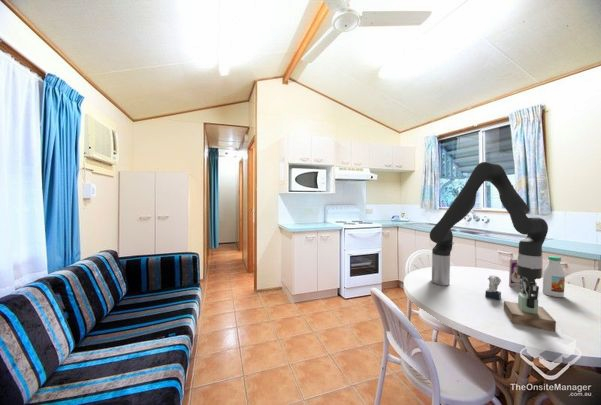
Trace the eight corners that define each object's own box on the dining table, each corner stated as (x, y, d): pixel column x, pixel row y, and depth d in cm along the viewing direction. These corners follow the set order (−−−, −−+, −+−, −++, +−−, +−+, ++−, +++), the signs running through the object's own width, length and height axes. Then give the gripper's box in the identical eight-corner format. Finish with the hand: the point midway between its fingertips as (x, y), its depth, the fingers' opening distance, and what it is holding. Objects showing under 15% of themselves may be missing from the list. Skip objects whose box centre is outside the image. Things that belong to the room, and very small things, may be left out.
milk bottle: (542, 294, 126) (544, 257, 125) (542, 290, 131) (543, 254, 130) (564, 299, 120) (566, 259, 120) (563, 294, 126) (564, 256, 125)
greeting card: (510, 286, 137) (511, 260, 136) (498, 281, 144) (498, 256, 143) (527, 285, 139) (528, 259, 138) (514, 280, 146) (515, 256, 145)
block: (521, 311, 101) (522, 297, 101) (517, 306, 105) (518, 292, 105) (537, 314, 99) (538, 299, 98) (533, 308, 103) (533, 295, 103)
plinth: (511, 322, 100) (512, 313, 99) (503, 309, 111) (503, 300, 111) (555, 331, 93) (555, 321, 93) (542, 316, 105) (542, 307, 105)
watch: (501, 296, 124) (502, 275, 124) (498, 301, 119) (499, 279, 118) (488, 293, 128) (488, 272, 128) (484, 297, 123) (484, 276, 122)
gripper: (512, 259, 109) (511, 296, 110) (523, 268, 97) (521, 310, 97) (534, 261, 106) (533, 299, 106) (548, 271, 93) (547, 314, 94)
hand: (527, 304), depth 102 cm, fingers open, 5 cm apart
